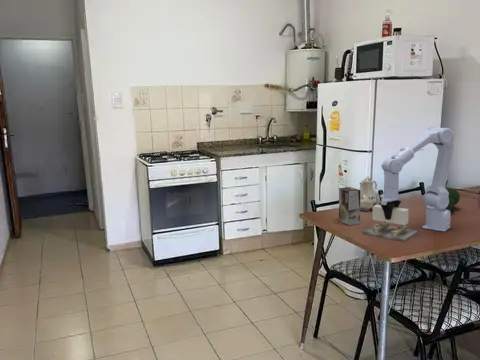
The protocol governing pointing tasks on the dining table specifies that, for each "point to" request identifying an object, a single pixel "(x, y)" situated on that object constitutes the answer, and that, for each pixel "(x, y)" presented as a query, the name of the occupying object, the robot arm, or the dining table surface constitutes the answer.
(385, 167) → the robot arm
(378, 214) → the clay bar
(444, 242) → the dining table surface
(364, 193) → the chinaware
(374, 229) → the grey peg board
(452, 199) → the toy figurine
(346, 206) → the coffee box
